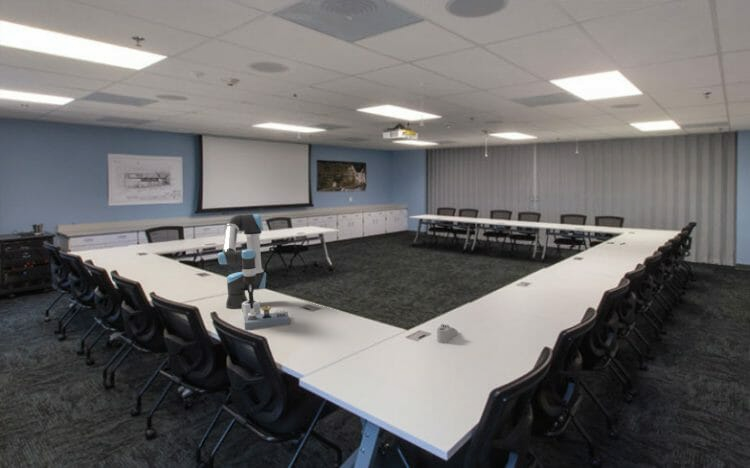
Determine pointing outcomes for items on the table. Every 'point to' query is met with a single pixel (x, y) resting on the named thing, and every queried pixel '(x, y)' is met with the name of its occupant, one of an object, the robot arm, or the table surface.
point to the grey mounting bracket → (445, 333)
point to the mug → (247, 310)
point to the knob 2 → (280, 313)
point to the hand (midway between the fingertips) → (252, 313)
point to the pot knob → (266, 311)
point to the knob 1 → (252, 316)
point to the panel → (266, 321)
